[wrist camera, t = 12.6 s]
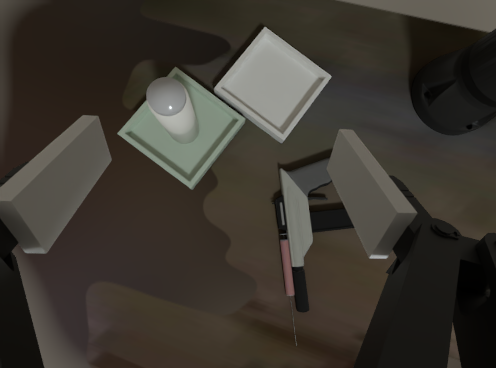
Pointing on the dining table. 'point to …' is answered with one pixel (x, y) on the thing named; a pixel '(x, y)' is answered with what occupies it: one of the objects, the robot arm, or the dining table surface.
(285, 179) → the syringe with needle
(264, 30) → the grey tray
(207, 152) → the green tray
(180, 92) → the sugar shaker
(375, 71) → the dining table surface
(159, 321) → the dining table surface
